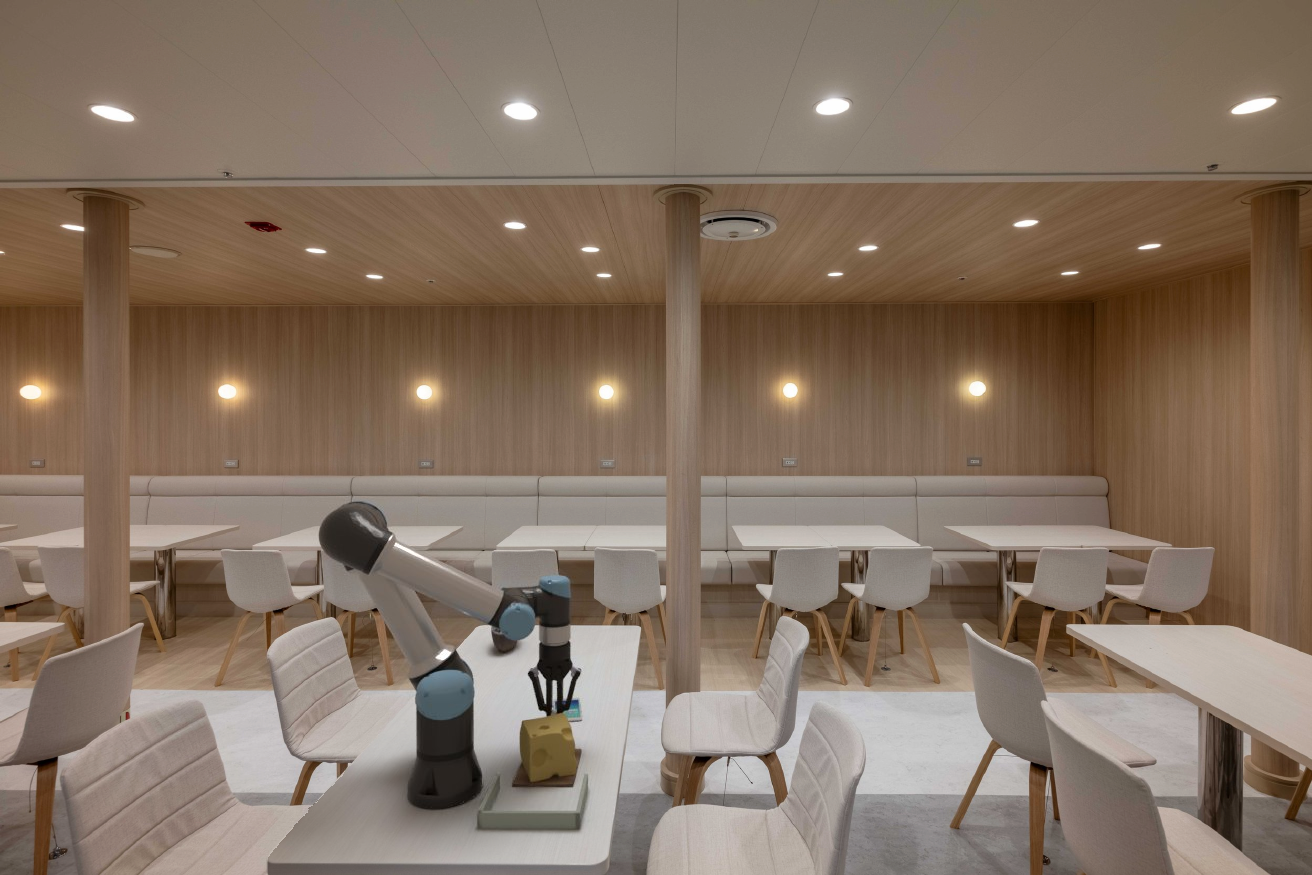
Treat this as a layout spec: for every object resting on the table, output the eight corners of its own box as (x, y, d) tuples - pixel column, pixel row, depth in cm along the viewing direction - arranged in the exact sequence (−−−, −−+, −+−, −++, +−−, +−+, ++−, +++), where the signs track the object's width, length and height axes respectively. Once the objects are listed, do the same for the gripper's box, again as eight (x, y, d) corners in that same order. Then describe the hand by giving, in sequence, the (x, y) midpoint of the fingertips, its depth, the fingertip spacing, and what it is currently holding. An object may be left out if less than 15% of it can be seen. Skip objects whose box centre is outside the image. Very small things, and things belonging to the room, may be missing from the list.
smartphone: (553, 721, 176) (553, 698, 191) (553, 724, 176) (553, 701, 191) (582, 719, 177) (579, 697, 192) (582, 722, 177) (579, 700, 192)
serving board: (572, 786, 144) (572, 783, 144) (512, 786, 144) (512, 783, 144) (581, 751, 160) (581, 748, 160) (526, 751, 160) (526, 748, 160)
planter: (514, 638, 248) (514, 584, 248) (537, 649, 235) (536, 592, 235) (476, 646, 239) (476, 590, 239) (497, 658, 226) (497, 599, 226)
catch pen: (579, 828, 129) (579, 812, 129) (477, 828, 129) (477, 812, 129) (588, 787, 144) (588, 773, 144) (496, 787, 144) (496, 773, 144)
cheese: (576, 775, 148) (576, 729, 148) (527, 784, 144) (527, 737, 144) (565, 754, 157) (565, 711, 157) (518, 762, 154) (518, 718, 153)
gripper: (583, 636, 166) (583, 731, 166) (530, 636, 166) (530, 731, 166) (580, 645, 159) (579, 746, 159) (524, 645, 159) (524, 745, 159)
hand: (554, 738), depth 163 cm, fingers closed
